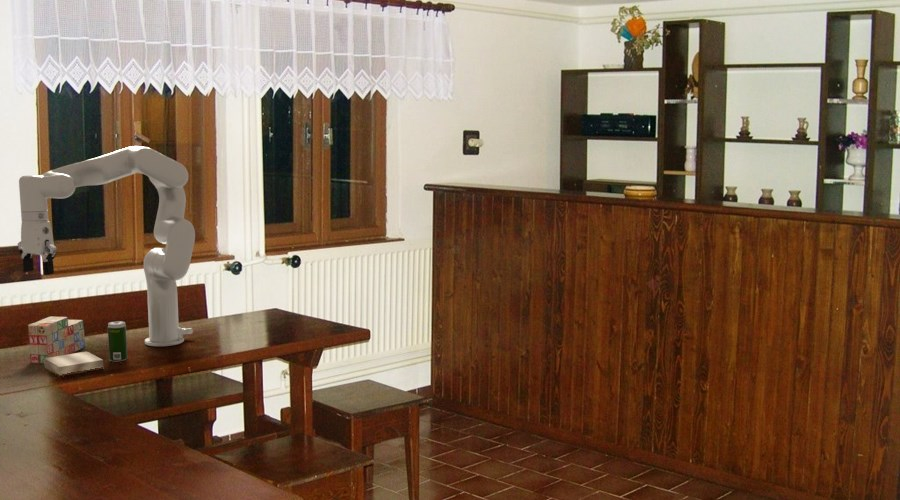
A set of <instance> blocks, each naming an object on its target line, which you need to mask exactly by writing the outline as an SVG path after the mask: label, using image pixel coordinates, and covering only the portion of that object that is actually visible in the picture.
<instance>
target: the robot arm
mask: <svg viewBox="0 0 900 500" xmlns="http://www.w3.org/2000/svg"><path fill="white" fill-rule="evenodd" d="M134 174H143V175H145V176H147V177H148V179H149V182H151V183H152V185H154V187H155V189H156V190H157V193H158V197H159V198H158V199H159V200H158V201H159V202H158V208H157V213H156V218H155V223H154V227H153V237H154V239H155V240H156V241H157V242H158V243H160V244H162V245H165V247H154V248H152V249H150V250H149V251H147V253H146V254H145V256H144V259H143V271H144V272H143V273H144V276H145V280H146V293H147V311H148V313H147V315H148V333H149V334H148V336H149V337H147V338H145V339H144V344H145V345H146V346H149V347H169V346H176V345H180V344H182V343H184V341H185V338H184V336H185V335H189V334H190V335H191V334H193V333H194V329H193V328H192V327H187V328H186V327H180V326H179V324H180V323H179V306H178V304H179V302H178V301H179V300H178V286H177V281H179V280H181V279H183V278H184V277H185V276H186V275H187V273H188V272H189V269H190V266H191V261H192V255H193V250H194V246H195V242H196V231H195V227H194V224H192V223H191V221H190V220H188V219H186V218H185V213H186V204H187V197H186V191H185V189H184V186H185V185H187V183H188V181H189V172H188V170H187V168H186V166H184V165H183V164H182V163H181V162H179V161H176V160H175V159H173V158H171V157H169V156H167V155H164V154H162V153H161V152H159V151H157V150H155V149H153V148H150V147H148V146H139V145H134V146H133V145H132V146H128V147H125V148H122V149H118V150H115V151H113V152H110V153H106V154H103V155H100V156H97V157H94V158H90V159H86V160H83V161H79V162H74V163H71V164H68V165H64V166H60V167H58V168H57V167H56V168H55V169H51V170H49V171H46V172H44V173H42V174H41V175H40V174H30V175H21V176H20V177H19V180H18V188H19V189H18V191H19V204H20V214H21V215H20V218H21V227H20V241H18V243H17V246H18V247H17V248H18V249H19V250H18V251H19V254H20V255H21V256H20V257H21V259H22V269H23V272H25V273H28V272H34V269H35V267H34V258H33V255H35V256H41V258H42V259H43V261H42V272H43V275H44V276H49V275H53V274H54V272H55V270H54V261H55V258H56V254H57V250H58V249H57V246H55V243H54V235H53V229H52V224H51V222H50V221H49V220H50V219H49V207H48V199H59V200H60V199H62V200H63V199H66V198H69V197H72V195H74V192H75V191H76V188H79V187H86V186H100V185H106V184H109V183H112V182H114V181H118V180H120V179H122V178H123V179H124V178H126V177H129V176H132V175H134Z"/></svg>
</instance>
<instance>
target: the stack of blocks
mask: <svg viewBox="0 0 900 500" xmlns="http://www.w3.org/2000/svg"><path fill="white" fill-rule="evenodd" d="M27 326H28V329H27V330H28V345H29V358H30V362H29V363H30V364H38V363H45V362H44V358H49V357H55V356H62V355H68V354H74V353H77V351H79V350H82V349H85V348H86V342H85V341H86V340H85V329H84V320H83V319H69V318H68V316H48V317H46V318H42V319H40V320H38V321H36V322H33V323H29V324H28V325H27Z"/></svg>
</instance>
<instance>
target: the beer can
mask: <svg viewBox="0 0 900 500" xmlns="http://www.w3.org/2000/svg"><path fill="white" fill-rule="evenodd" d="M107 325H108V326H107V337H108V339H107V341H108V343H107V344H108V358H109V359H108V360H109V362H111V361H115V362H116V361H123V360H126V359H127V360H128V342H127V325H126V322H125V321H121V320H117V321H110V322H108V324H107ZM127 360H126V361H127Z"/></svg>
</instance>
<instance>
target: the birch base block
mask: <svg viewBox="0 0 900 500" xmlns="http://www.w3.org/2000/svg"><path fill="white" fill-rule="evenodd" d="M44 362H45V364H44V369H46V368H47V369H49V370H52V371H53V372H55V373H57V374H59V375H62V374H67V373H71V372H77V371H84V370H90V369H95V368H101V367H103V368H104V359H102V358H100V357H98V356H96V355H95V354H93V353H91V352H89V351H81V352H73V353H71V354H68V355H62V356H55V357H49V358H44ZM47 369H46V370H47ZM49 370H48V371H49Z"/></svg>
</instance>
